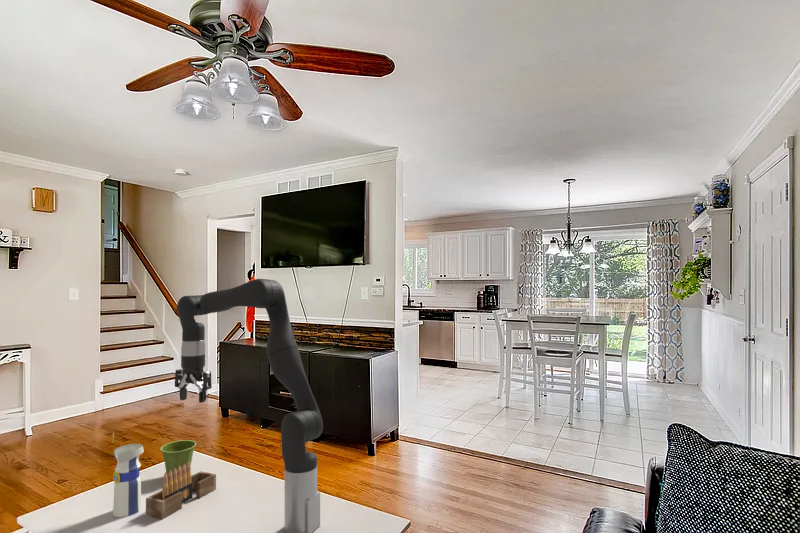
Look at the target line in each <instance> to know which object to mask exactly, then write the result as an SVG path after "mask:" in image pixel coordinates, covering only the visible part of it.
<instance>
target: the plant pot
mask: <svg viewBox="0 0 800 533" xmlns="http://www.w3.org/2000/svg"><path fill="white" fill-rule="evenodd" d="M196 446H197V442H196V441H195V440H190V439H184V440H182V439H181V440H175V441H172V442H168V443H166V444H164V445H162V446H161V447H160V451H161V453H162V456H163V460H164V467H165V472H166V473H167V477H168V475H169V471H170V470H171V471H172V479H173V471H174V468H176V470H177V475H178V468H179V466H180V467H181V471H182V468H183V465H184V464H185V466H186V471H187V464H188V462H190V466H191V465H192V460H193V454H194V451H195V447H196ZM191 467H192V466H191Z"/></svg>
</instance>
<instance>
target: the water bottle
mask: <svg viewBox="0 0 800 533" xmlns="http://www.w3.org/2000/svg"><path fill="white" fill-rule="evenodd" d="M114 440H115V431H113V433H112V441H111V442H112V443H115V442H114ZM112 452H113V455H114V460H115V459H116V462H117V464H116V466H115V468H114V472H113V474H112V480H113V482H114V484H113V485H114V486H113V506H112V516H113V517H115V518H125V517H130V516H133V515H135V514H137V513H139V512H141V510H142V508H143V507H142V506H143V505H142V479H141V476H140V468H141V466H142V464H141V462H140V460H139V458H140V455H142V454H143V453H144V452H145V450H144V446H143V444H141V443H128V444H125V445H122V446H119V447H116V448H115V449H114V450H113V451H112Z"/></svg>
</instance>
